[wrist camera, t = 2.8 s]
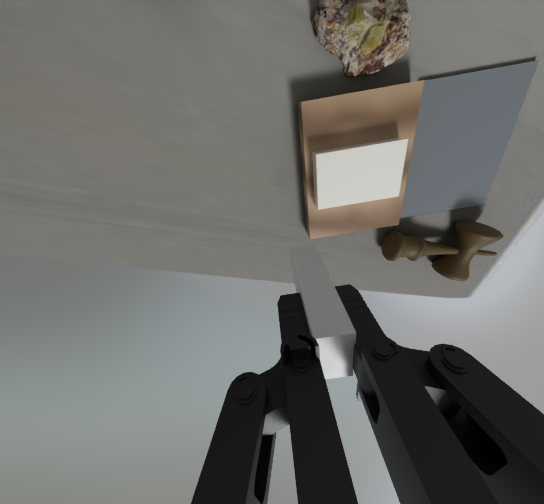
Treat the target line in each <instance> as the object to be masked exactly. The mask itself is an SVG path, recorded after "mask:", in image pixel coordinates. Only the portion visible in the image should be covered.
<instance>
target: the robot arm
mask: <svg viewBox="0 0 544 504" xmlns="http://www.w3.org/2000/svg"><path fill="white" fill-rule="evenodd" d="M290 252H291V260H292V269H293V277H294V283H295V287H296V292H297V293H294V294H287V295H281V296H280V299H279V301H278V312H279V322H280V331H281V340H282V344H281V349H280V351H281V358H280V360H279V361H278V363H277V364H276V365H275V366H274V367H272V368H271V369H269V370H267V371H265V372H263V373H261V374H259V375H258V374H256V373H253V372H247V373H243V374H241V375H239V376H238V377H236V379H234V381H232V383H231V385H230V387H229V389H228V391H227V394H226V398H225V401H224V404H223V407H222V410H221V413H220V416H219V419H218V422H217V425H216V428H215V431H214V434H213V438H212V441H211V444H210V447H209V450H208V453H207V456H206V459H205V462H204V465H203V469H202V471H201V474H200V477H199V481H198V484H197V487H196V490H195V493H194V496H193V499H192V502H191V504H267V500H268V493H269V485H270V477H271V469H272V462H273V454H274V446H275V439H276V432H277V431H279V430H280V429H282V428H284V427H285V426H287V425H289V424H290V432H291V442H292V451H293V460H294V469H295V479H296V488H297V496H298V504H358V502H357V498H356V494H355V490H354V487H353V483H352V479H351V475H350V471H349V468H348V464H347V460H346V457H345V453H344V449H343V445H342V442H341V438H340V434H339V430H338V426H337V422H336V419H335V415H334V411H333V408H332V404H331V400H330V396H329V392H328V389H327V385H326V381H325V379H331V378H338V377H345V376H352V375H353V369H354V372H355V374H356V377H357V379H358V383H357V393H356V395H357V400H358V401H360V398H361V399H362V402H363V404H364V407H365V410H366V413H367V415H368V418H369V421H370V423H371V426H372V429H373V431H374V434H375V437H376V439H377V442H378V445H379V448H380V450H381V453H382V456H383V458H384V461H385V464H386V466H387V469H388V472H389V474H390V477H391V480H392V482H393V485H394V488H395V490H396V493H397V496H398V498H399V501H400V503H401V504H544V414H543V413H541V412H540V411H539V410H538V409H536V408H535V407H534V406H533V405H532V404H530V403H529V402H528V401H526V400H525V399H524V398H523V397H522V396H521V395H519V394H518V393H517V392H516V391H514V390H513V389H512V388H511V387H509V386H508V385H507V384H506V383H505V382H503V381H502V380H501V379H500V378H498V377H497V376H496V375H495V374H493V373H492V372H491V371H490V370H488V369H487V368H486V367H485V366H484V365H482V364H481V363H480V362H479V361H477V360H476V359H475V358H474V357H472V356H471V355H470V354H468V353H467V352H465V351H464V350H462V349H460V348H458V347H455V346H453V345H447V344H438V345H435V346H434V347H432V348H431V349H430V352H429V351H422V350H416V349H409V348H405V347H402V346H399V345H397V344H396V343H395V342H394V341H393V340H391V339H389V338H388V337H386V335H385V334H384V333H383V331H382V330H381V328H380V326H379V325H378V323H377V321H376V319H375V318H374V316H373V314H372V313H371V311H370V310H369V308H368V307H367V305H366V303H365V301H364V300H363V298H362V296H361V295H360V293H359V291H358V290H357V289H355V288H354V287H353V286H351V285H350V284H349V285H342V286H336V287H335V286H334V284H333V282H332V280H331V278H330V276H329V274H328V272H327V269H326V267H325V265H324V263H323V261H322V259H321V257H320V255H319V252H318V250H317V248H316V246H315V244H314V243H311V244H304V245H298V246H292V247H290Z"/></svg>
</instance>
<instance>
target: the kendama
mask: <svg viewBox="0 0 544 504" xmlns="http://www.w3.org/2000/svg"><path fill="white" fill-rule="evenodd" d="M455 229H456V236H457V238H456V242H455V243H454V245H453V246H448V245H443V244H438V243H434V242H430V241H427V240H424V238H423V237H422V236H421V235H419V234H412V235H410V236H405V235H402V234H401V233H400V232H398V231H397V230H390V231H389V232H388V233H387V234H386V235H385V236H384V238H383V241H382V246H381V249H382V254H383V255H384V257H385V258H386V259H387V260H389V261H395V260H396V259H398V258H399V257H407V258H408V259H409V260H411V261H416V260H417V259H419V258H420V257H422V256H428V255H441V254H445V255H444V256H442V257H440V258H439V259H437V260H435V261H433V262H432V267H433V268H434V270H435V271H436V272H438V273H439V274H440V275H442V276H444V277H446V278H449V279H452V280H457V281H465V280H467V279H468V278H469V264H470V261H471V259H472V257H473V256H474V255H489V256H493V255H496V254H497V253H496V252H492V251H484V250H479V249H481V248H482V247H484V246H486V245H489V244H491V243H493V242H495V241H498V240H499V239H501V238H503V235H502V233H501V232H500V231H498V230H496V229H495V228H492V227H490V226H487V225H484V224H481V223H478V222H474V221H468V220H459V221H456V222H455Z"/></svg>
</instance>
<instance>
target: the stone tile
mask: <svg viewBox="0 0 544 504" xmlns="http://www.w3.org/2000/svg"><path fill="white" fill-rule="evenodd" d="M407 144H408V139H407V138H394V139H388V140H382V141H376V142H370V143H365V144H359V145H353V146H347V147H341V148H336V149H330V150H324V151H318V152H312V157H313V178H314V200H315V206H316V207H317V209H318V210H320V209H326V208H332V207H338V206H344V205H350V204H356V203H362V202H368V201H374V200H380V199H386V198H392V197H398V196H399V192H400V186H401V180H402V174H403V168H404V162H405V156H406V150H407Z"/></svg>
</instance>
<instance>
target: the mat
mask: <svg viewBox="0 0 544 504" xmlns="http://www.w3.org/2000/svg"><path fill="white" fill-rule="evenodd" d="M538 62H539V60H537V61H532V62H526V63H521V64H515V65H509V66H504V67H498V68H493V69H487V70H481V71H476V72H470V73H465V74H459V75H453V76H448V77H442V78H437V79H431V80H425V81H424V85H423V91H422V96H421V102H420V108H419V113H418V119H417V124H416V130H415V136H414V141H413V147H412V153H411V158H410V164H409V169H408V175H407V181H406V186H405V192H404V198H403V203H402V209H401V214H400V218H404V217H410V216H417V215H423V214H429V213H435V212H441V211H447V210H453V209H460V208H466V207H472V206H478V205H484V202H485V199H486V197H487V194H488V192H489V189H490V186H491V184H492V181H493V179H494V176H495V173H496V171H497V168H498V166H499V163H500V160H501V158H502V155H503V153H504V150H505V148H506V145H507V142H508V140H509V137H510V135H511V132H512V129H513V127H514V124H515V122H516V119H517V116H518V114H519V111H520V109H521V106H522V103H523V101H524V98H525V96H526V93H527V90H528V88H529V85H530V83H531V80H532V78H533V75H534V72H535V70H536V67H537V65H538Z"/></svg>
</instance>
